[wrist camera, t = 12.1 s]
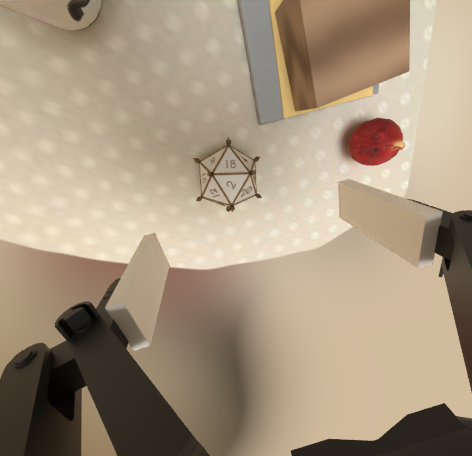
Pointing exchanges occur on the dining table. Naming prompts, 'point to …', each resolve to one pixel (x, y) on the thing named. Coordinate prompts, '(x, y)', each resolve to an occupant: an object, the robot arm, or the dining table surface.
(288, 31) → the walnut slab
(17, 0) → the mug
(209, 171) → the game die
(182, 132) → the dining table surface
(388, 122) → the red oval piece
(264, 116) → the board
